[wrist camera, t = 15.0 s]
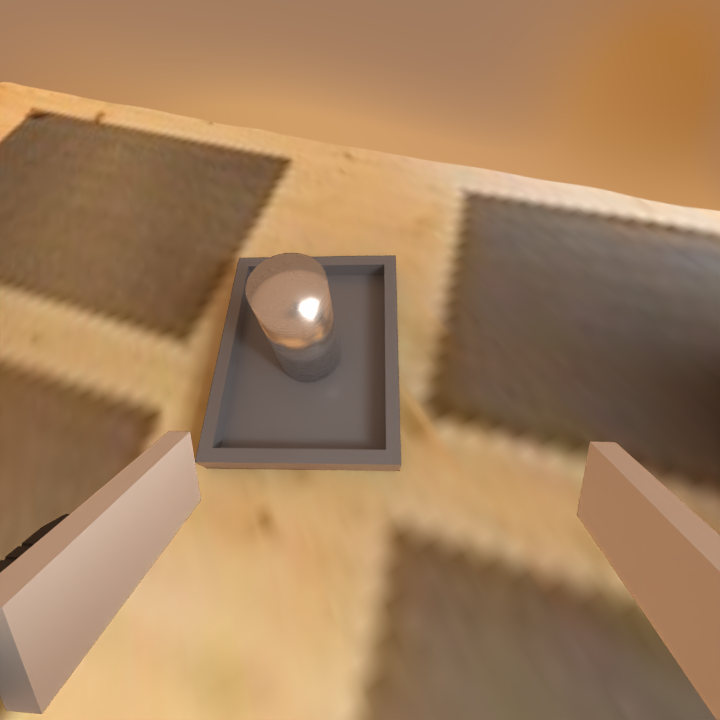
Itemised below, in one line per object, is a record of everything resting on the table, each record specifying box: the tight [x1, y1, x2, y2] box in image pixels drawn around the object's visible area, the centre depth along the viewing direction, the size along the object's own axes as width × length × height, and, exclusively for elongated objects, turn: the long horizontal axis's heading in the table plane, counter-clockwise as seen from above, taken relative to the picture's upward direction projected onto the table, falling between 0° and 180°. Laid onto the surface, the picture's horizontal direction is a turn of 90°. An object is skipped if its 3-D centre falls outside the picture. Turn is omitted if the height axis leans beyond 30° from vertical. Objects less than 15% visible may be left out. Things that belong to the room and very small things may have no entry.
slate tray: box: [195, 256, 401, 471], centre depth 37 cm, size 17×22×2 cm
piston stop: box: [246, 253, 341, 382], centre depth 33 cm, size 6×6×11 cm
